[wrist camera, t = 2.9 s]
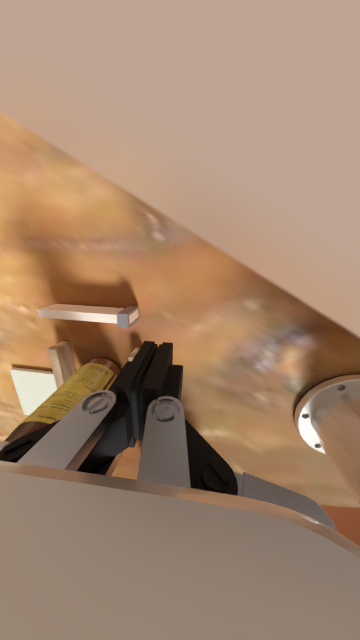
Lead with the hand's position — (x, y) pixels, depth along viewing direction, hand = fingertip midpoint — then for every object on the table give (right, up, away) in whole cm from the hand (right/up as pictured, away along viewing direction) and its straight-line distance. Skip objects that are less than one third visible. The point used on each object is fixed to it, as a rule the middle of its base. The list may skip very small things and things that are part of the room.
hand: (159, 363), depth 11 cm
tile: (-21, -9, +18) cm, 29 cm away
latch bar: (-9, +4, +12) cm, 15 cm away
